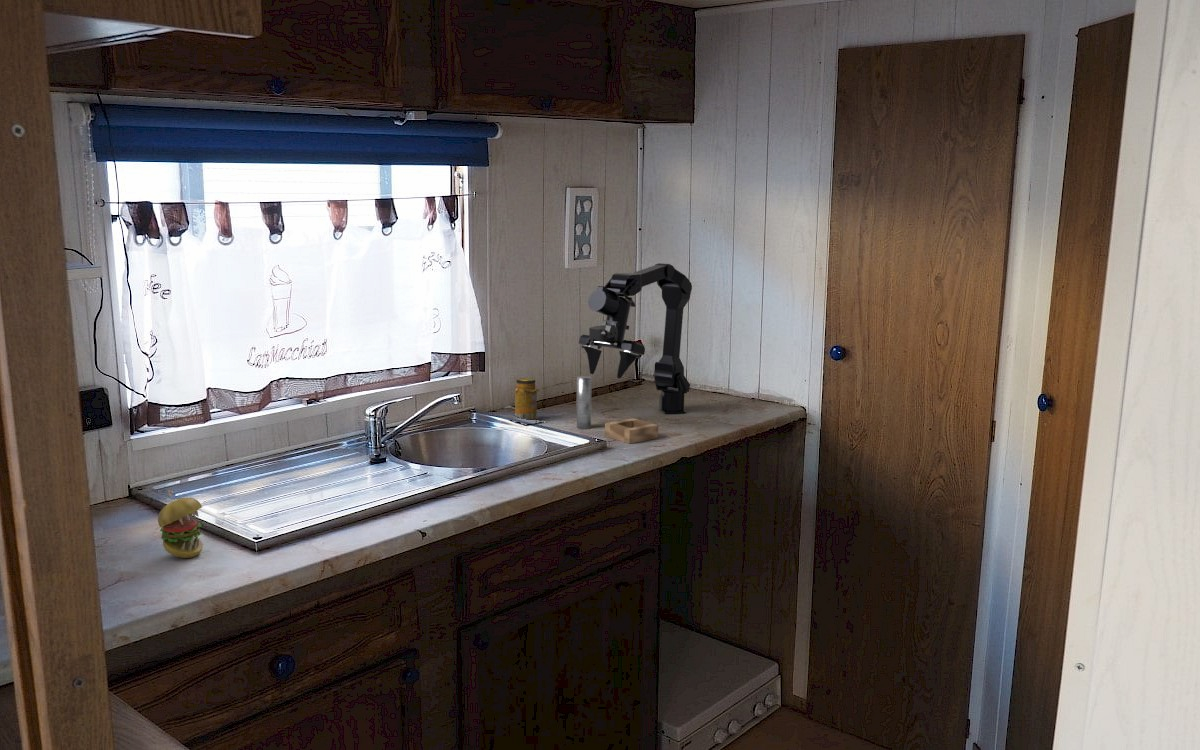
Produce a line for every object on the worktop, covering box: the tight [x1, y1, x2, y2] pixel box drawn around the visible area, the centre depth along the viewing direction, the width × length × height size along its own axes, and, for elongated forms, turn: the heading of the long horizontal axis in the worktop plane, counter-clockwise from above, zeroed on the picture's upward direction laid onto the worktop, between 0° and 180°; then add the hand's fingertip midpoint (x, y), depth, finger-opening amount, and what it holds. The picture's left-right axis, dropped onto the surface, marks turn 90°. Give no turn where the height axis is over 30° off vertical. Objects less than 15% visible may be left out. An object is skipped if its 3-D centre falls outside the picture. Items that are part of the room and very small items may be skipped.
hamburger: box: [157, 489, 204, 559], centre depth 182 cm, size 8×7×12 cm
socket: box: [604, 417, 659, 445], centre depth 271 cm, size 10×10×4 cm
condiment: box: [514, 377, 546, 423], centre depth 286 cm, size 7×8×12 cm
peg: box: [575, 375, 592, 430], centre depth 280 cm, size 4×4×14 cm
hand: (605, 376), depth 274 cm, fingers open, 9 cm apart
